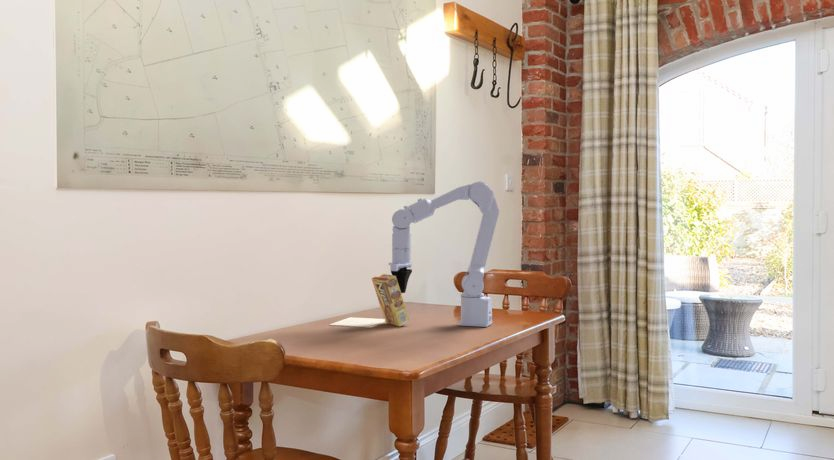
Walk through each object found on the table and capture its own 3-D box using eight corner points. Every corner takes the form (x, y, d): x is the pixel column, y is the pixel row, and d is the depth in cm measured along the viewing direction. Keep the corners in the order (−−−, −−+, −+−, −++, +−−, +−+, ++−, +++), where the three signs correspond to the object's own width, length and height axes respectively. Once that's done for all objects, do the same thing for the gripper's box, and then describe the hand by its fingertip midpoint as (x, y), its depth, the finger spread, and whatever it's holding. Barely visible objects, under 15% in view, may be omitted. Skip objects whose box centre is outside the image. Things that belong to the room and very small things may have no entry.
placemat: (390, 320, 250) (390, 319, 250) (371, 327, 234) (371, 326, 234) (349, 318, 254) (349, 317, 254) (329, 325, 239) (329, 324, 239)
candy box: (410, 321, 238) (396, 275, 234) (399, 327, 235) (385, 280, 232) (395, 318, 245) (382, 273, 242) (384, 323, 243) (370, 278, 240)
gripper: (397, 247, 247) (397, 289, 248) (380, 249, 233) (381, 294, 234) (418, 247, 245) (418, 290, 245) (403, 250, 231) (403, 295, 232)
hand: (401, 292), depth 239 cm, fingers closed
